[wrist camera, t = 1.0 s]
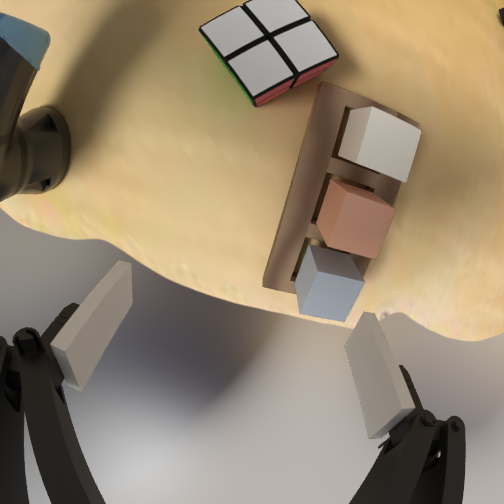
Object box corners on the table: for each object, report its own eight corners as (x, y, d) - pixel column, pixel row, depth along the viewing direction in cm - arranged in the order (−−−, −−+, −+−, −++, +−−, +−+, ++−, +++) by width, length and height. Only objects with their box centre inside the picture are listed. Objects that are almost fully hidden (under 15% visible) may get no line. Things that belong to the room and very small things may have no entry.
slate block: (294, 282, 38) (299, 313, 31) (308, 244, 35) (317, 271, 29) (333, 290, 38) (344, 321, 32) (349, 254, 35) (365, 282, 29)
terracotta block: (316, 223, 34) (327, 246, 27) (330, 178, 31) (346, 191, 25) (357, 235, 34) (375, 259, 28) (373, 193, 31) (396, 209, 25)
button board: (262, 277, 42) (262, 286, 39) (318, 84, 29) (322, 81, 27) (345, 296, 42) (348, 305, 40) (410, 122, 30) (418, 123, 28)
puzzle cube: (321, 74, 28) (342, 56, 19) (255, 109, 31) (252, 101, 22) (279, 17, 25) (283, -16, 16) (214, 51, 28) (195, 27, 19)
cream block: (337, 155, 30) (356, 163, 23) (350, 109, 27) (372, 106, 21) (380, 171, 30) (405, 183, 24) (393, 128, 28) (421, 130, 21)
